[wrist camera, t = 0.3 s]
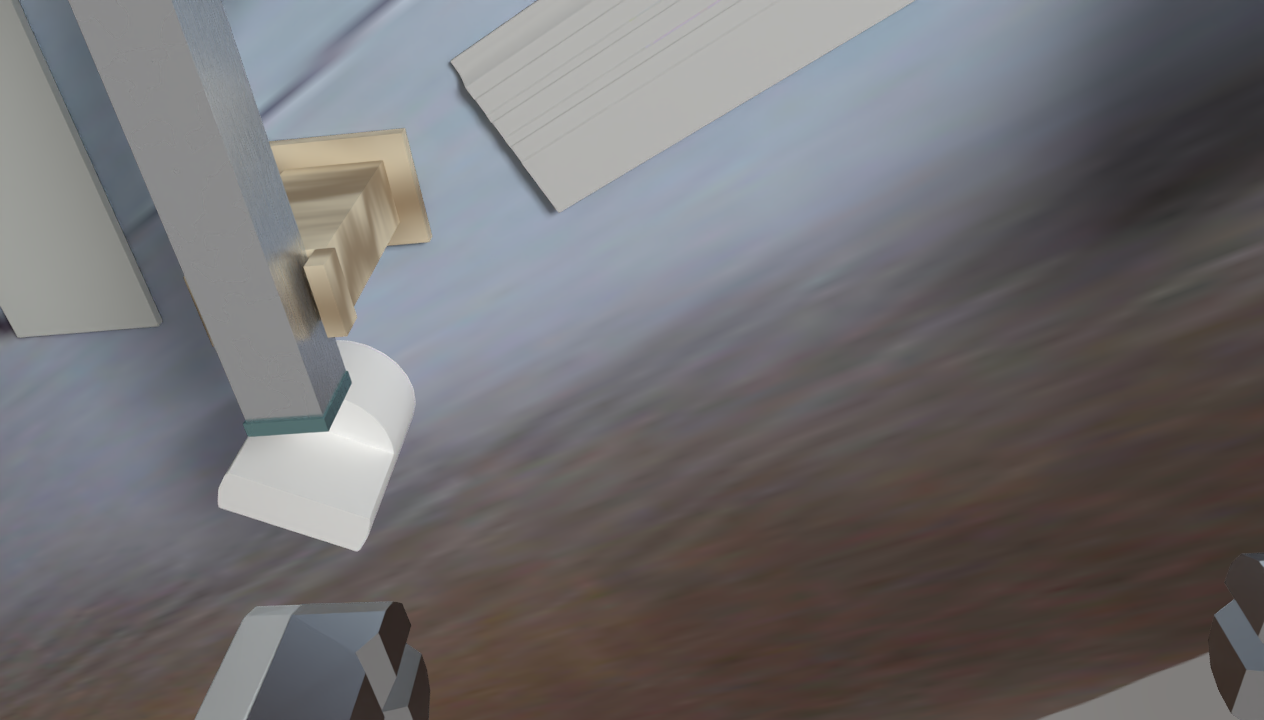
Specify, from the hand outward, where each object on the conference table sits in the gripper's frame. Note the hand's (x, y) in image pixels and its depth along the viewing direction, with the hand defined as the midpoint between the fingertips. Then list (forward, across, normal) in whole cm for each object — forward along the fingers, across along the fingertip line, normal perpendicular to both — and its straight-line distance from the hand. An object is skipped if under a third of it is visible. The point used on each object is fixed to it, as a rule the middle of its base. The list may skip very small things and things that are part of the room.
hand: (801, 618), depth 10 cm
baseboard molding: (+48, -2, +4) cm, 48 cm away
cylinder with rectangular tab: (+47, +27, +29) cm, 61 cm away
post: (+47, +23, +14) cm, 54 cm away
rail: (+35, +22, +5) cm, 42 cm away
